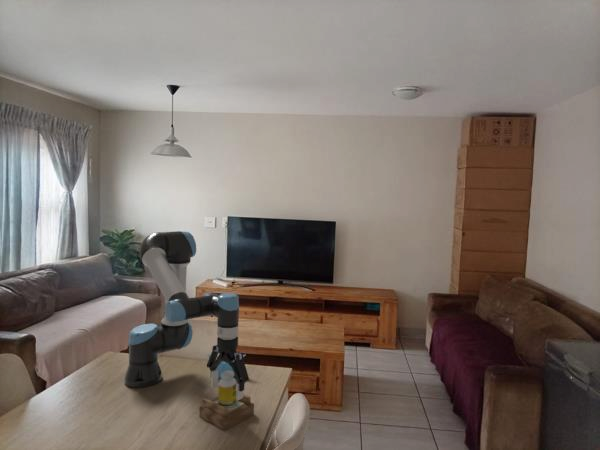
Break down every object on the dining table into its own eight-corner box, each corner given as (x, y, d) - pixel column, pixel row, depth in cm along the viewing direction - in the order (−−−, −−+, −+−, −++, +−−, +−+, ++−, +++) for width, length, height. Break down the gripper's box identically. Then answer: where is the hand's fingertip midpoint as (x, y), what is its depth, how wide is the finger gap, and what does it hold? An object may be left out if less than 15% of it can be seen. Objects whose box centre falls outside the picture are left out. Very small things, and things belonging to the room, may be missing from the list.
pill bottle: (232, 409, 145) (232, 377, 144) (215, 407, 146) (215, 375, 145) (238, 400, 151) (238, 370, 150) (222, 398, 152) (222, 368, 152)
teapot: (229, 367, 191) (229, 346, 190) (247, 376, 182) (247, 354, 181) (206, 375, 181) (206, 353, 181) (223, 385, 172) (223, 362, 172)
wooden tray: (199, 416, 148) (199, 399, 147) (228, 401, 159) (228, 385, 158) (225, 430, 139) (225, 412, 139) (253, 414, 150) (254, 397, 150)
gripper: (197, 331, 152) (197, 385, 153) (244, 347, 136) (243, 408, 138) (213, 326, 158) (212, 379, 159) (259, 342, 142) (258, 400, 144)
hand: (226, 392), depth 148 cm, fingers open, 13 cm apart
